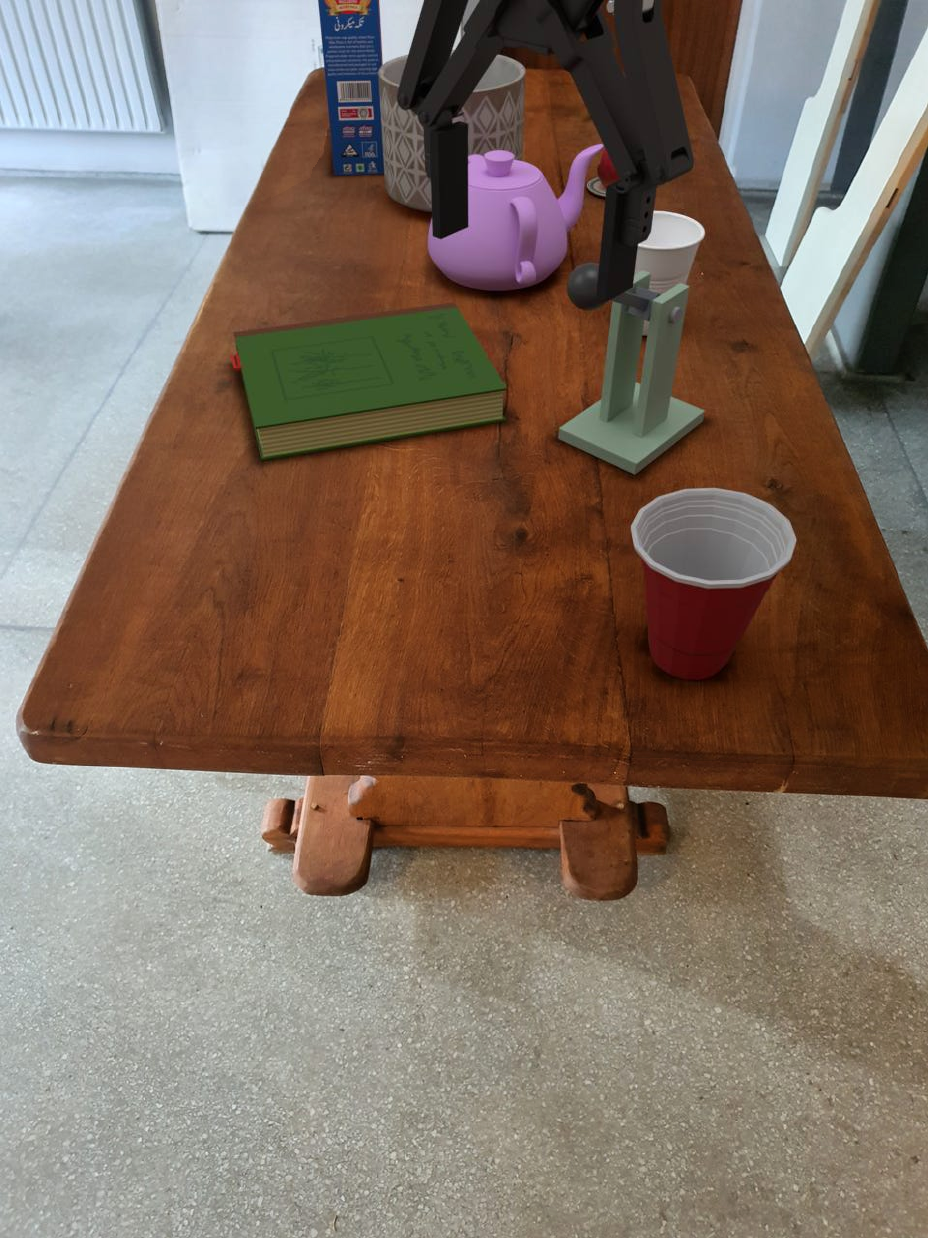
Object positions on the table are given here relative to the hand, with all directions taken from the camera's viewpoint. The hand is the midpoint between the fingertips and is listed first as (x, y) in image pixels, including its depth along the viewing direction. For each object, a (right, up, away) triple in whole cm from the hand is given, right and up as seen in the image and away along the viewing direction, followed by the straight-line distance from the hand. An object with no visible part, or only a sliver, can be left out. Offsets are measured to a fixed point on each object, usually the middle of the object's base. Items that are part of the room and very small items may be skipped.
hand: (528, 261), depth 60 cm
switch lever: (+8, +3, +20) cm, 22 cm away
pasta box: (-21, +54, +92) cm, 108 cm away
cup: (+17, +11, +48) cm, 52 cm away
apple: (+18, +39, +77) cm, 89 cm away
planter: (-6, +37, +75) cm, 84 cm away
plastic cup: (+13, -25, +12) cm, 31 cm away
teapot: (+2, +21, +59) cm, 63 cm away
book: (-15, +1, +38) cm, 41 cm away
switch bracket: (+12, -4, +33) cm, 35 cm away
